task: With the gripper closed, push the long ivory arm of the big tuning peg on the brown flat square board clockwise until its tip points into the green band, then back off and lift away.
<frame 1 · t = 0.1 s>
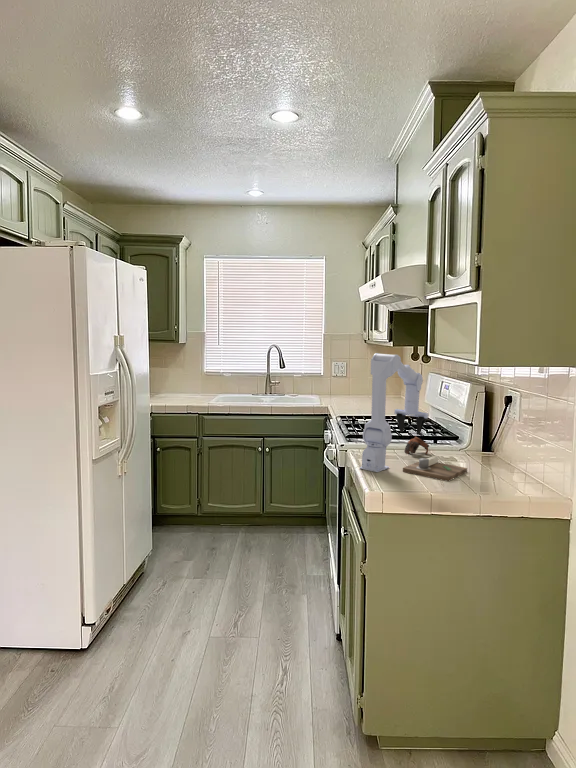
hand: (409, 433, 239), 10 cm above the worktop, fingers open, 7 cm apart
peg lever: (429, 460, 218), point 3 cm above the worktop, hinge at 0.0°
brown flat square board: (435, 471, 216), on the worktop
pottery mug: (415, 454, 246), on the worktop
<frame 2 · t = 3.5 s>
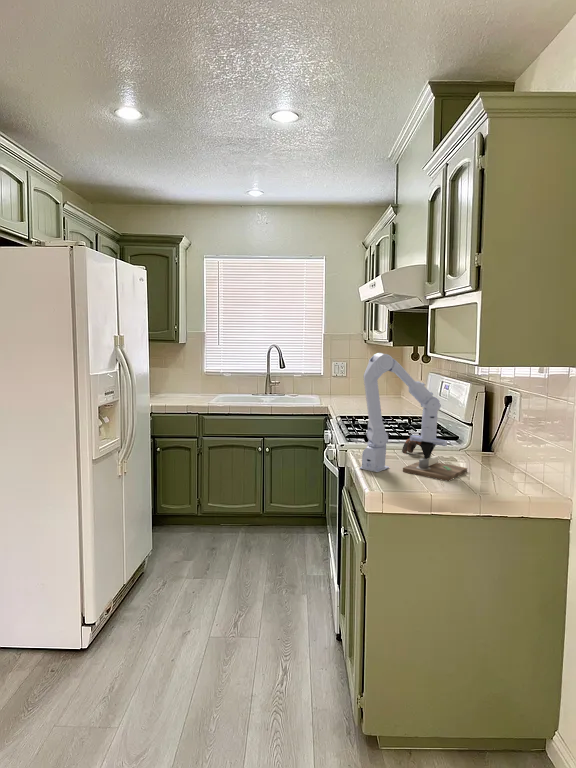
hand: (426, 461, 220), 3 cm above the worktop, fingers closed, pressing on peg lever
peg lever: (429, 460, 218), point 3 cm above the worktop, hinge at -0.2°, touching gripper
pottery mug: (412, 453, 247), on the worktop
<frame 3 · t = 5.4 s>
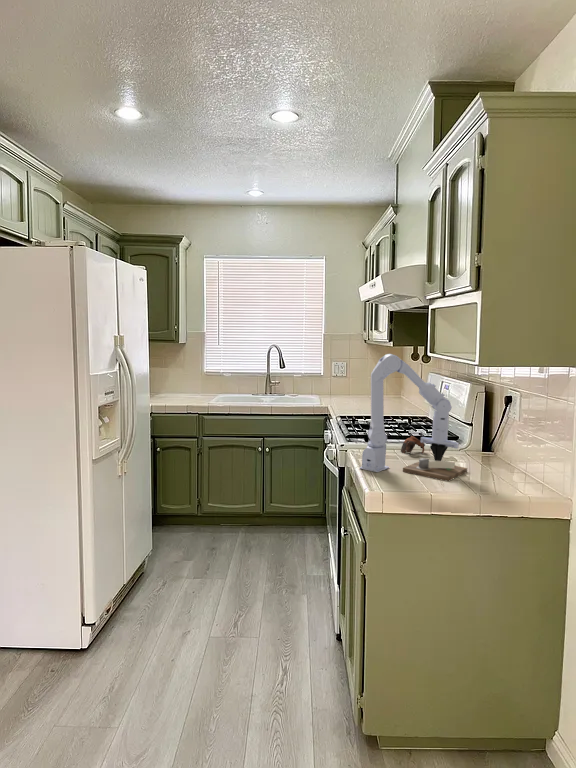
hand: (437, 463, 218), 3 cm above the worktop, fingers closed
peg lever: (436, 463, 215), point 3 cm above the worktop, hinge at -49.8°
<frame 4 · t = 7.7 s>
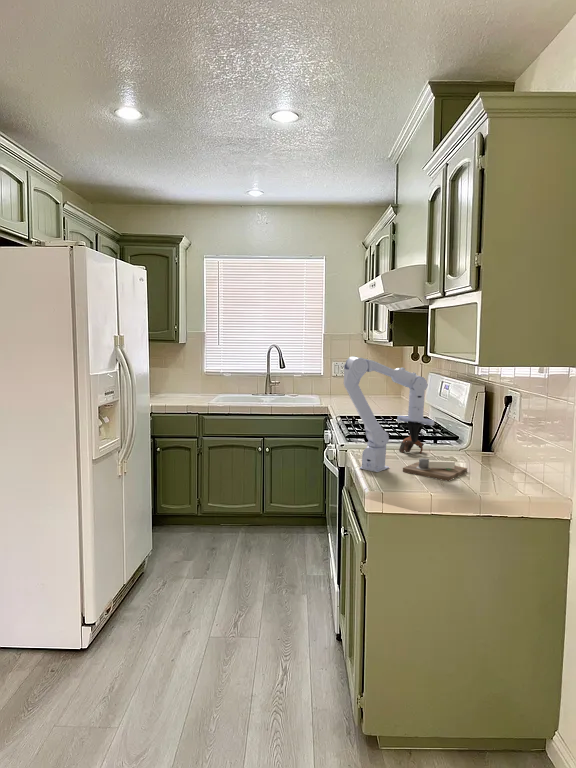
hand: (414, 441, 220), 10 cm above the worktop, fingers closed
at the end: peg lever at -50° (first picture: +0°); pottery mug moved 2.9 cm from its start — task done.
